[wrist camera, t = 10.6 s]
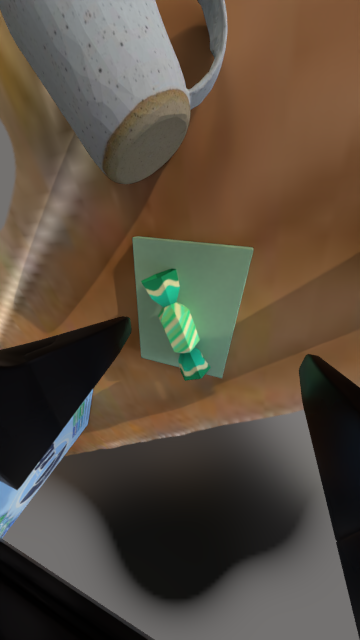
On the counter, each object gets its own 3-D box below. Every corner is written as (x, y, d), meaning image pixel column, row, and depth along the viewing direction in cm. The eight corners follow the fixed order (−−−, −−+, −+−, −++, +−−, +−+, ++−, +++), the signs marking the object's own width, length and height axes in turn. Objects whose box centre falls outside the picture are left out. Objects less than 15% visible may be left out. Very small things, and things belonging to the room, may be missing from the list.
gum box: (89, 423, 45) (-23, 573, 26) (71, 413, 45) (-52, 556, 26) (96, 378, 34) (-84, 578, 15) (72, 365, 35) (-133, 548, 16)
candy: (139, 279, 19) (142, 284, 15) (169, 267, 19) (179, 269, 16) (178, 366, 24) (188, 386, 20) (201, 355, 24) (215, 372, 20)
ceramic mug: (139, 197, 17) (80, 184, 11) (80, 97, 15) (-41, 3, 8) (249, 91, 12) (263, -49, 6) (188, -84, 10) (97, -646, 3)
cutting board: (252, 247, 17) (253, 249, 16) (222, 371, 25) (221, 378, 24) (137, 236, 19) (132, 237, 18) (144, 352, 27) (141, 357, 26)
